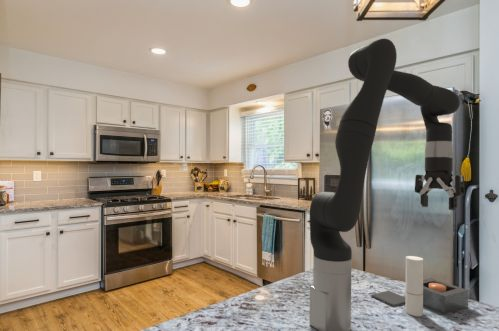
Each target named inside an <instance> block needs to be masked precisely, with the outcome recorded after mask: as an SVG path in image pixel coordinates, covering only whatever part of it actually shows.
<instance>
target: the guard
mask: <svg viewBox="0 0 499 331" xmlns="http://www.w3.org/2000/svg"><path fill="white" fill-rule="evenodd" d="M429 283H438V284H442V285H445V286H446V292H443V293H442V292H439V291H436V290H433V289H430V288H429ZM424 307H425V308H427V309H430V310H432V311H435V312H437V313H440V314H441V315H444V316H446V315H450V314H451V313H454V312H459V311H461V310H464V309H467V308H469V290H468V289H466V288H463V287H460V286H456V285H453V284H451V283H447V282H444V281H441V280H439V279H435V278H431V277H429V278H426V279H423V308H424Z"/></svg>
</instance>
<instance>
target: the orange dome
mask: <svg viewBox="0 0 499 331" xmlns="http://www.w3.org/2000/svg"><path fill="white" fill-rule="evenodd" d="M429 288H430V289H433V290H436V291H439V292H442V293H443V292H446V286H445V285H442V284H438V283H429Z"/></svg>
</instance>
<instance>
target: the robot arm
mask: <svg viewBox="0 0 499 331" xmlns="http://www.w3.org/2000/svg"><path fill="white" fill-rule="evenodd" d="M396 49H397V48H396V46H395V44H394V42H393V41H391V39H388V38H379V39H376V40H372V41H371V42H369V43H366V44H365V45H362V46H361V47H358V48H357V49H355V50H354V51H352V52H351V54H350V55H349V56H348V61H347V64H348V65H347V66H348V69H349V72H350V74H351V75H352V76H353V77H354V78H355V79H357V80H359V81H361V82H363V83H362V85H361V87H360V89H359V91H358V92H357V93H356V95H355V96H354V97H353V99H352V100H351V102H350V103H349V104H348V106H347V107H346V108H345V110H344V112H343V114H341V115H342V116H341V118H340V120H339V124H338V127H337V131H336V136H335V141H334V142H335V143H334V144H335V150H336V154H337V158H338V161H339V162H338V163H339V167H340V173H339V180H338V183H337V187H336V191H335V192H333V191H321V192H318V193H317V194H316V195H314V196H313V198H312V200H311V202H310V208H309V234H310V235H309V236H310V238H309V239H310V244H311V247H312V250H313V260H312V261H313V266H312V267H313V270H312V275H313V276H312V285H310V287H309V325H310V326H312V327H313V328H314V329H316V330H317V331H351V329H352V264H353V263H352V259H353V258H352V257H353V256H352V254H353V253H352V247H351V246H350V244H349V243H348V242H346V240H345V239H343V237H342V235H341V233H348V232H349V231H351V230H352V229H354V227H355V226H356V224H357V223H358V220H359V218H360V214H361V208H362V200H363V193H364V185H365V179H366V173H367V168H368V164H369V159H370V155H371V152H372V147H373V144H374V140H375V136H376V133H377V127H378V122H379V119H380V118H379V117H380V113H381V111H382V107H383V103H384V99H385V96H386V94H387V91H389V92H392V93H394V94H396V95H398V96H400V97H402V98H404V99H406V100H408V101H409V102H411V103H412V104H414V105H415V106H419V107H420V114H421V116H422V119H423V123H424V127H425V131H426V133H425V148H424V172H425V174H416V175H415V181H414V192H415V193H416V194H419V195H420V205H421V207H422V208H427V207H428V206H429V195H428V194H429V193H430V192H431V191H432V190H435V189H437V190H444V191H445V192H446V193H447V194H448V196H449V197H448V210H450V211H456V209H457V207H458V198H459V197H462V196H465V195H466V194H465V193H466V192H465V190H466V189H465V188H466V187H465V176H464V175H462V174H461V175H460V174H459V175H453V168H454V146H453V127H452V124H451V123H449V122H443V121H439V118H438V117H441V116H446V115H451V114H454V113H455V112H457V111H458V109H459V108H460V105H461V101H460V97H459V95H458V94H457V93H456V92H454V91H453V90H452V89H449V88H445V87H442V86H438V85H433V84H432V83H430V82H428V81H427V80H426V79H424V78H423V77H421V76H419V75H418V74H417V75H416V74H413V73H408V72H406V71H404V72H403V71H398V70H395V68H396V64H397V57H398V56H397V50H396ZM424 182H425V184H424ZM452 182H453V183H454V184H455V185H453V184H452ZM454 186H455V187H454Z"/></svg>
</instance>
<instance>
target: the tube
mask: <svg viewBox="0 0 499 331" xmlns="http://www.w3.org/2000/svg"><path fill="white" fill-rule="evenodd" d="M423 280H424V258H423V257H420V256H417V255H407V256H405V297H406V300H405V304H404V305H405V306H404V308H405V309H404V310H405V313H406V314H407V315H410V316H415V317H422V316H423V315H424V306H423Z"/></svg>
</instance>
